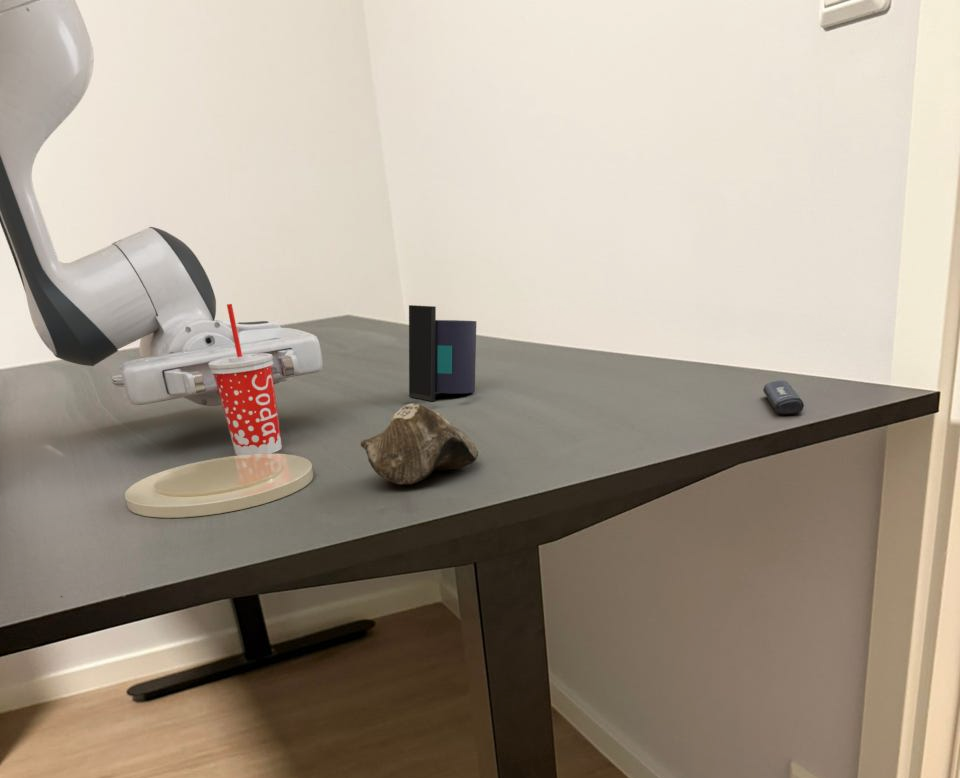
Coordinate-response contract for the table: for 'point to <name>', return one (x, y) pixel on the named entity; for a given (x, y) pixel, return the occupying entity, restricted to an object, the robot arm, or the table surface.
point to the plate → (219, 485)
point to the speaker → (440, 354)
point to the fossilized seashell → (418, 446)
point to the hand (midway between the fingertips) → (245, 374)
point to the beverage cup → (248, 398)
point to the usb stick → (783, 398)
